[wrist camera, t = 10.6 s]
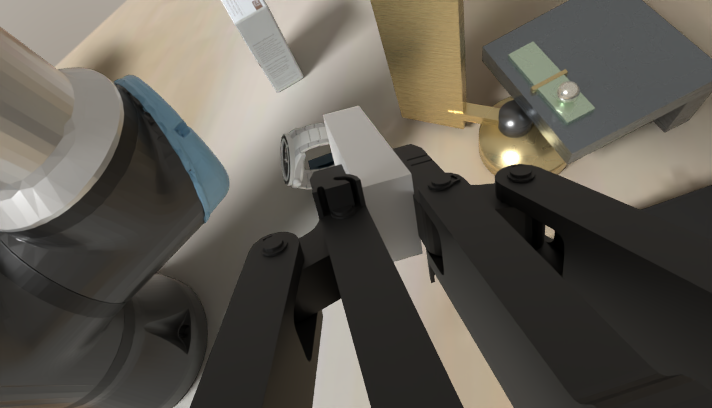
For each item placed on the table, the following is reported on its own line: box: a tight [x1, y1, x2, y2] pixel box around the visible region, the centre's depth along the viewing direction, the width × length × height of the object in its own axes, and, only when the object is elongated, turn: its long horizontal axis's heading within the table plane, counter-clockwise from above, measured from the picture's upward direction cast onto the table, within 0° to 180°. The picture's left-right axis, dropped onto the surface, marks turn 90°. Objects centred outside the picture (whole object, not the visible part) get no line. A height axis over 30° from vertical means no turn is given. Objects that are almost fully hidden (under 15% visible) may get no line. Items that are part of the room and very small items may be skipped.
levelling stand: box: [482, 0, 712, 165], centre depth 40 cm, size 14×14×9 cm
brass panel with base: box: [371, 0, 567, 175], centre depth 37 cm, size 9×17×18 cm, turn 83°
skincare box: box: [221, 0, 303, 92], centre depth 51 cm, size 6×4×12 cm
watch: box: [281, 123, 335, 189], centre depth 43 cm, size 6×8×11 cm
